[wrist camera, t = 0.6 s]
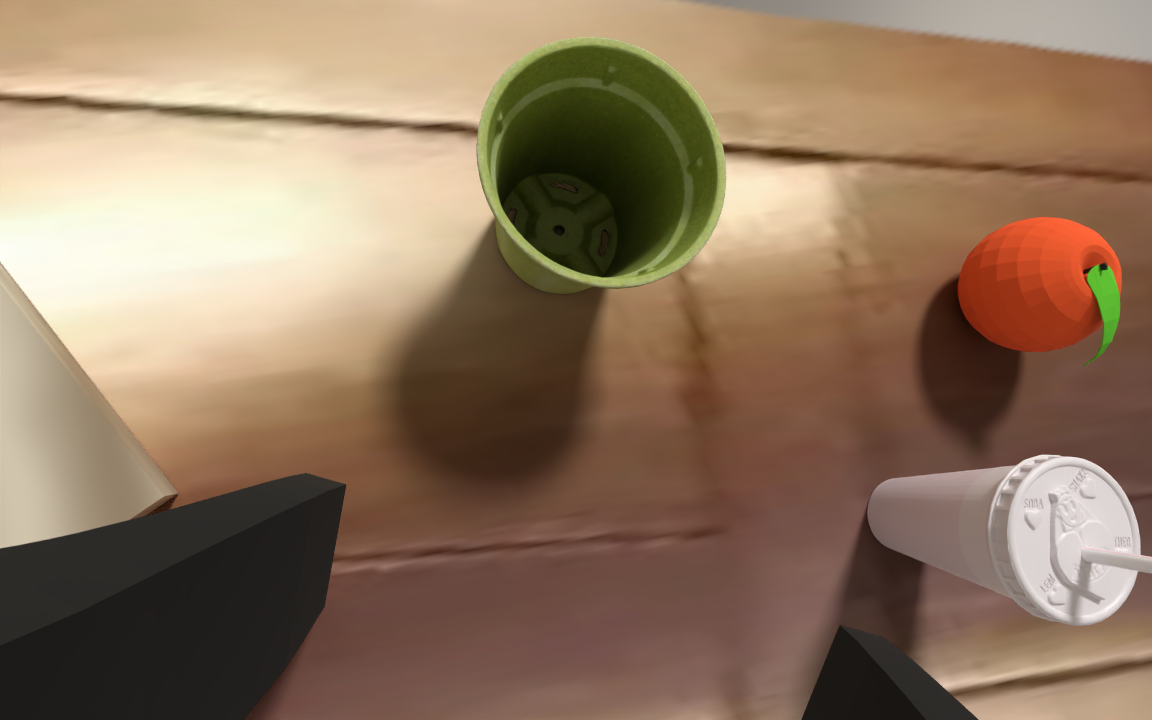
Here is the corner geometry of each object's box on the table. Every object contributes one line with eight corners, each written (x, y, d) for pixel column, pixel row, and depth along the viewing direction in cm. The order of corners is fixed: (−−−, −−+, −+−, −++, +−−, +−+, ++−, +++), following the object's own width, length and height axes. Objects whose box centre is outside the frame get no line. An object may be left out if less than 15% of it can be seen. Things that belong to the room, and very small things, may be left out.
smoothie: (872, 598, 33) (1182, 703, 20) (826, 479, 33) (1100, 502, 20) (967, 547, 35) (1313, 612, 21) (922, 434, 35) (1237, 427, 21)
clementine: (1052, 358, 38) (1192, 338, 31) (959, 393, 36) (1086, 381, 29) (1004, 228, 38) (1133, 180, 31) (911, 257, 36) (1025, 213, 29)
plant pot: (658, 164, 33) (737, 70, 25) (640, 342, 32) (717, 306, 24) (477, 123, 32) (496, 7, 23) (448, 312, 30) (458, 260, 22)
